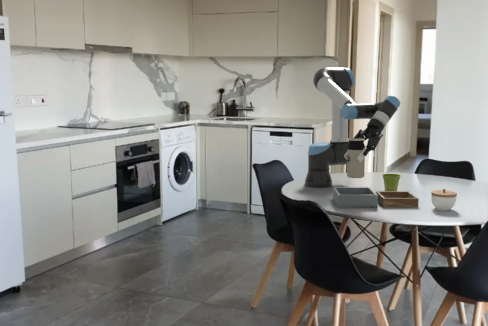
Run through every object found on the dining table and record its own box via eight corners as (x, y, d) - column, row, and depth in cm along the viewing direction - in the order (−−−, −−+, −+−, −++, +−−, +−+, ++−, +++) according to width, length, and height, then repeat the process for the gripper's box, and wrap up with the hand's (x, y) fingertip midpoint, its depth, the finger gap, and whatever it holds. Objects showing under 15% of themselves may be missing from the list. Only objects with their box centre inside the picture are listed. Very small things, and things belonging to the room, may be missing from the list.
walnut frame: (375, 199, 262) (375, 191, 261) (408, 199, 262) (408, 191, 261) (383, 206, 246) (383, 198, 246) (418, 207, 246) (418, 198, 245)
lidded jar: (426, 206, 246) (427, 186, 245) (449, 206, 247) (450, 186, 246) (436, 212, 236) (437, 191, 234) (460, 211, 237) (461, 191, 235)
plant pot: (400, 193, 275) (401, 176, 274) (382, 192, 277) (382, 176, 276) (399, 189, 284) (400, 173, 283) (381, 189, 286) (381, 173, 285)
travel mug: (363, 175, 255) (364, 137, 252) (365, 178, 247) (366, 139, 244) (346, 175, 256) (347, 137, 253) (347, 178, 248) (348, 139, 245)
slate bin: (332, 199, 263) (332, 187, 262) (369, 199, 262) (369, 187, 261) (338, 207, 245) (338, 195, 244) (377, 207, 244) (378, 195, 243)
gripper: (398, 129, 248) (372, 167, 242) (365, 126, 265) (341, 161, 259) (390, 118, 244) (364, 156, 238) (358, 116, 262) (332, 151, 256)
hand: (352, 159), depth 249 cm, fingers closed on travel mug, 8 cm apart
